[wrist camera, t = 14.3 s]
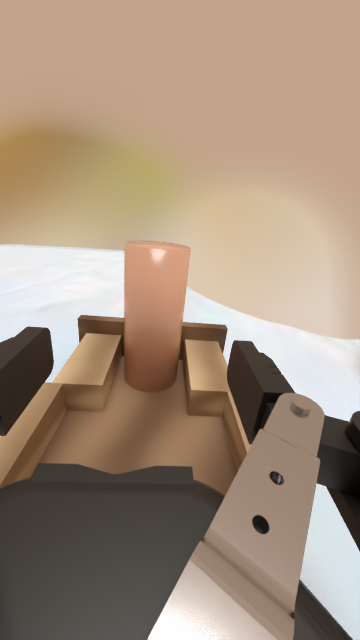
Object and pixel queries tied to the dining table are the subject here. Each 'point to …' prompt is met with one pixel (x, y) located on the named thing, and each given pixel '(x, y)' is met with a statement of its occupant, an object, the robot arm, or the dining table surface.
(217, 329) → the keyhole track
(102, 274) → the dining table surface
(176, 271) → the salmon orange cylinder
